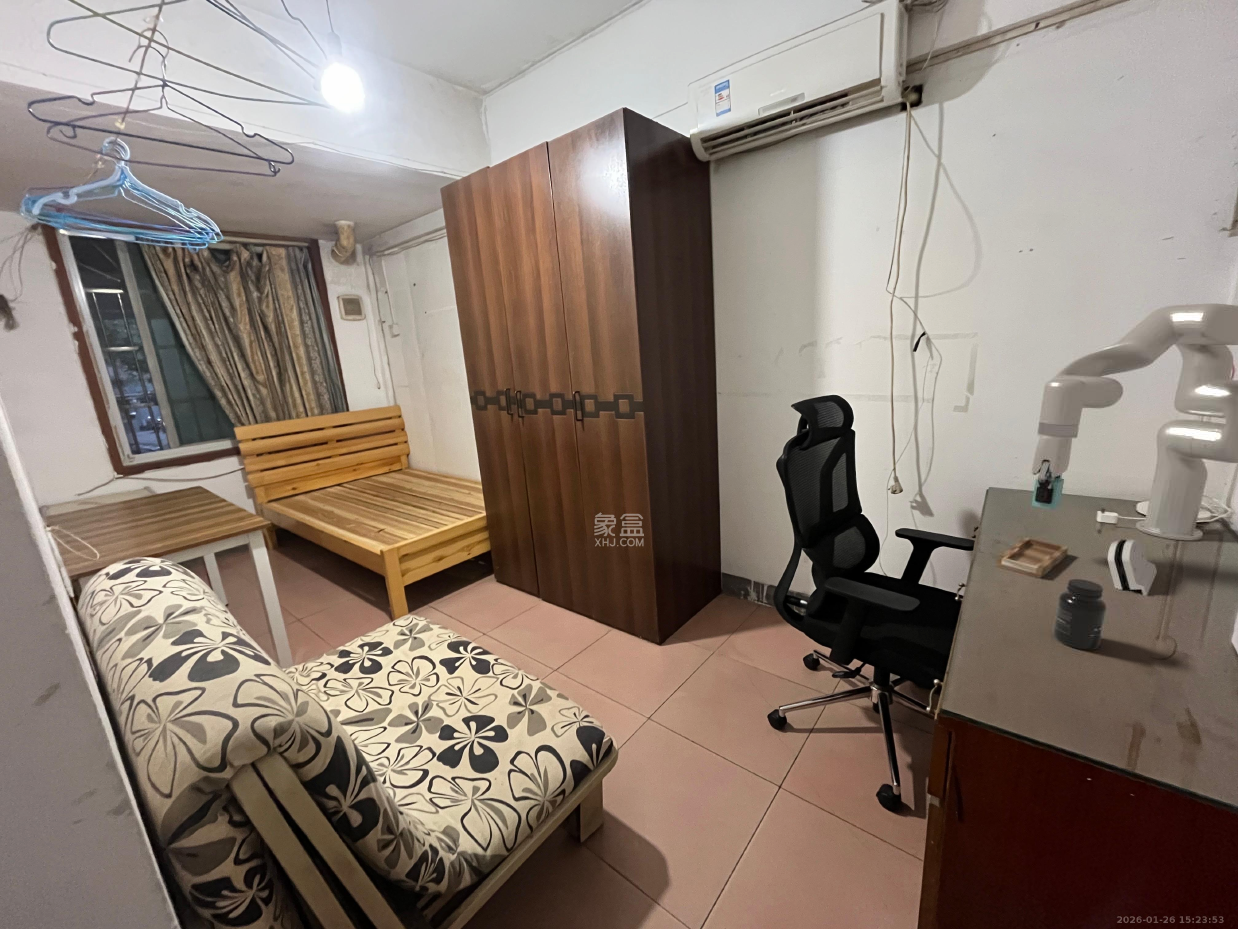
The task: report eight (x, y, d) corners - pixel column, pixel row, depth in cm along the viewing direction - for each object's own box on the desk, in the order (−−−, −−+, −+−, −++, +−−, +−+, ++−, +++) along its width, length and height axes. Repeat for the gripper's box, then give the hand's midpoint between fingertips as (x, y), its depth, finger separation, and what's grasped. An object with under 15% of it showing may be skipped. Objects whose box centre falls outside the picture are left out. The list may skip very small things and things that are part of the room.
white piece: (1146, 596, 110) (1132, 552, 110) (1117, 595, 114) (1104, 553, 114) (1157, 571, 120) (1144, 531, 120) (1129, 571, 124) (1117, 532, 124)
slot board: (1024, 545, 138) (1025, 537, 137) (1066, 555, 130) (1068, 547, 130) (996, 566, 127) (997, 557, 127) (1040, 578, 120) (1041, 569, 119)
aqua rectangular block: (1037, 501, 131) (1041, 475, 129) (1059, 505, 127) (1064, 479, 126) (1031, 505, 129) (1035, 479, 127) (1053, 509, 125) (1058, 482, 123)
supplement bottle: (1103, 655, 92) (1115, 596, 90) (1055, 645, 96) (1065, 588, 93) (1094, 635, 98) (1105, 580, 95) (1049, 627, 102) (1058, 573, 99)
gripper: (1050, 423, 131) (1040, 490, 135) (1026, 433, 122) (1015, 504, 126) (1088, 426, 125) (1076, 496, 129) (1065, 437, 116) (1053, 511, 120)
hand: (1046, 499), depth 128 cm, fingers closed on aqua rectangular block, 4 cm apart
